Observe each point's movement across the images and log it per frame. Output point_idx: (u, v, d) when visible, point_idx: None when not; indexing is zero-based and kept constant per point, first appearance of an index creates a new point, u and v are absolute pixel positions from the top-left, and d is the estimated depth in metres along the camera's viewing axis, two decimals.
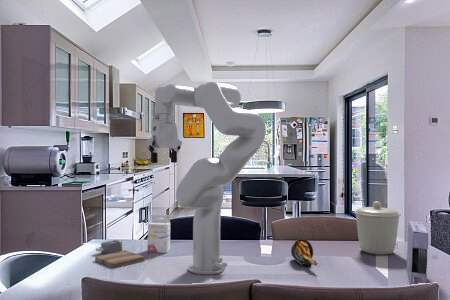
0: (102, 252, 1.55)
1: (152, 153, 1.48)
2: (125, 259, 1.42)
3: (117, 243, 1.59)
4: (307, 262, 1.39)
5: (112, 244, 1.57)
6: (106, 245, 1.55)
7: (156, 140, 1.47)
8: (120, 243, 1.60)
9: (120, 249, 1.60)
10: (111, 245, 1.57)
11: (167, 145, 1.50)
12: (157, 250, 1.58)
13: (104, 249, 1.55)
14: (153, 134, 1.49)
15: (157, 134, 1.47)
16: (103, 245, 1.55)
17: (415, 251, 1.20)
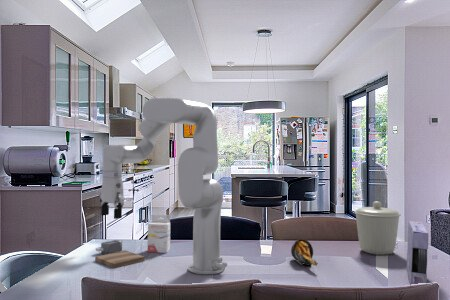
0: (102, 252, 1.55)
1: (119, 209, 1.55)
2: (125, 259, 1.42)
3: (117, 243, 1.59)
4: (307, 262, 1.39)
5: (112, 244, 1.57)
6: (106, 245, 1.55)
7: None
8: (120, 243, 1.60)
9: (120, 249, 1.60)
10: (111, 245, 1.57)
11: None
12: (157, 250, 1.58)
13: (104, 249, 1.55)
14: (117, 191, 1.56)
15: (122, 191, 1.57)
16: (103, 245, 1.55)
17: (415, 251, 1.20)
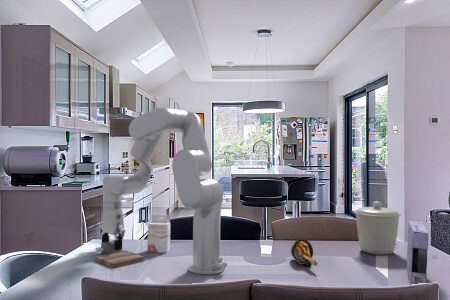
0: (102, 252, 1.55)
1: (120, 240, 1.55)
2: (125, 259, 1.42)
3: None
4: (307, 262, 1.39)
5: (112, 244, 1.57)
6: (106, 245, 1.55)
7: None
8: None
9: (120, 249, 1.60)
10: (111, 245, 1.57)
11: None
12: (157, 250, 1.58)
13: (104, 249, 1.55)
14: (117, 222, 1.55)
15: (122, 221, 1.57)
16: (103, 245, 1.55)
17: (415, 251, 1.20)
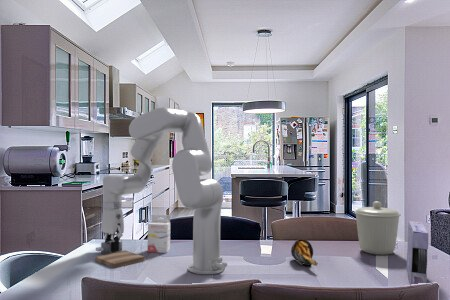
0: (102, 252, 1.55)
1: (116, 242, 1.57)
2: (125, 259, 1.42)
3: None
4: (307, 262, 1.39)
5: None
6: (106, 245, 1.55)
7: None
8: (120, 243, 1.60)
9: (120, 249, 1.60)
10: None
11: None
12: (157, 250, 1.58)
13: (104, 249, 1.55)
14: (117, 222, 1.55)
15: (122, 221, 1.57)
16: (103, 245, 1.55)
17: (415, 251, 1.20)
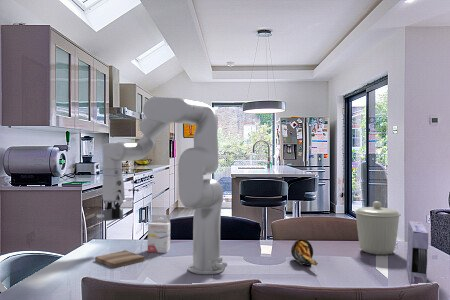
0: (103, 219, 1.55)
1: (117, 209, 1.57)
2: (125, 259, 1.42)
3: None
4: (307, 262, 1.39)
5: None
6: (107, 212, 1.55)
7: None
8: (121, 210, 1.60)
9: (121, 216, 1.60)
10: None
11: None
12: (157, 250, 1.58)
13: (105, 216, 1.55)
14: (118, 188, 1.55)
15: (123, 188, 1.57)
16: (104, 212, 1.55)
17: (415, 251, 1.20)
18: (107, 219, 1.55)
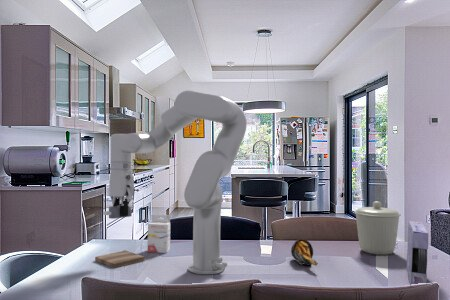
0: (110, 216, 1.42)
1: (125, 206, 1.44)
2: (125, 259, 1.42)
3: None
4: (307, 262, 1.39)
5: None
6: (114, 209, 1.42)
7: None
8: (129, 207, 1.47)
9: (129, 214, 1.47)
10: None
11: None
12: (157, 250, 1.58)
13: (112, 213, 1.42)
14: (127, 183, 1.42)
15: (132, 183, 1.44)
16: (111, 209, 1.42)
17: (415, 251, 1.20)
18: (114, 217, 1.42)
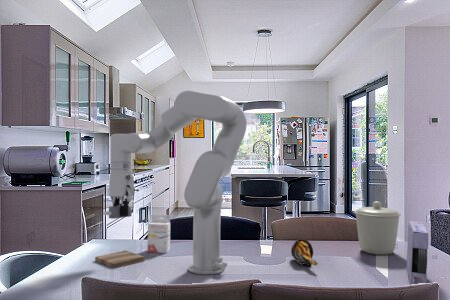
0: (110, 216, 1.42)
1: (125, 206, 1.44)
2: (125, 259, 1.42)
3: None
4: (307, 262, 1.39)
5: None
6: (114, 208, 1.42)
7: None
8: (129, 207, 1.47)
9: (129, 214, 1.47)
10: None
11: None
12: (157, 250, 1.58)
13: (112, 213, 1.42)
14: (127, 183, 1.42)
15: (132, 183, 1.44)
16: (111, 209, 1.42)
17: (415, 251, 1.20)
18: (114, 217, 1.42)
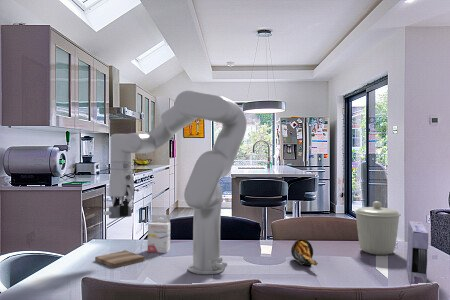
0: (110, 216, 1.42)
1: (125, 206, 1.44)
2: (125, 259, 1.42)
3: None
4: (307, 262, 1.39)
5: None
6: (114, 208, 1.42)
7: None
8: (129, 207, 1.47)
9: (129, 214, 1.47)
10: None
11: None
12: (157, 250, 1.58)
13: (112, 213, 1.42)
14: (127, 183, 1.42)
15: (132, 183, 1.44)
16: (111, 209, 1.42)
17: (415, 251, 1.20)
18: (114, 217, 1.42)
